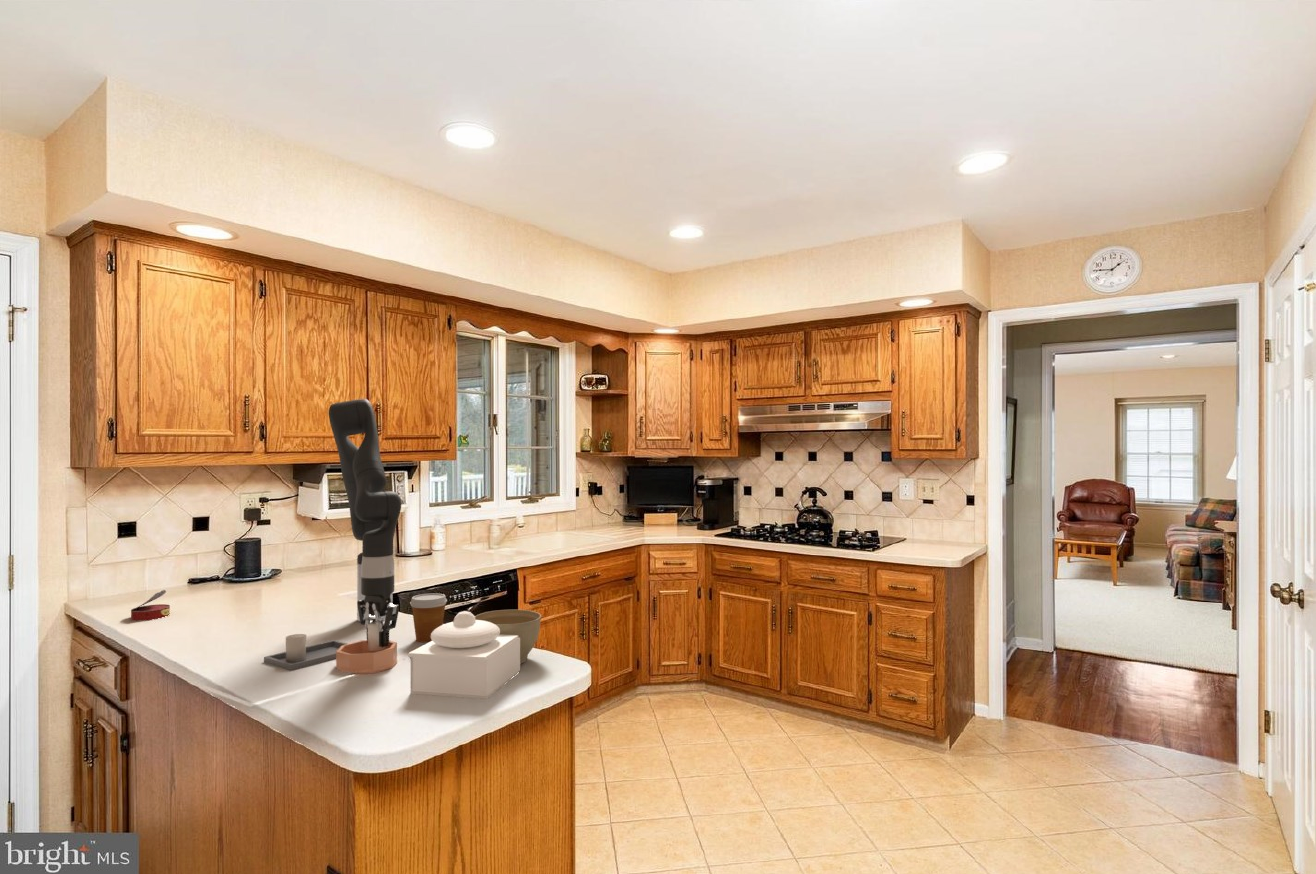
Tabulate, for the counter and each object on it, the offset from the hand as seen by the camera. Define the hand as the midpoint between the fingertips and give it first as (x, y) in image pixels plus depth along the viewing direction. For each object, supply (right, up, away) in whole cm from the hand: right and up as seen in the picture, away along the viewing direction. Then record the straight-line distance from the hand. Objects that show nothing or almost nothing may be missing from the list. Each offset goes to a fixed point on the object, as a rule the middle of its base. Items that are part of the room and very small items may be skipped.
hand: (377, 644), depth 169 cm
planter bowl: (+31, -4, +1) cm, 32 cm away
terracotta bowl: (-2, -4, -2) cm, 5 cm away
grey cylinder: (-20, -4, -1) cm, 20 cm away
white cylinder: (0, -1, 0) cm, 1 cm away
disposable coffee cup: (+6, -5, +19) cm, 20 cm away
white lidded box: (+26, -4, -15) cm, 30 cm away
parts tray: (-17, -5, +3) cm, 18 cm away
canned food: (-91, -6, +49) cm, 103 cm away
